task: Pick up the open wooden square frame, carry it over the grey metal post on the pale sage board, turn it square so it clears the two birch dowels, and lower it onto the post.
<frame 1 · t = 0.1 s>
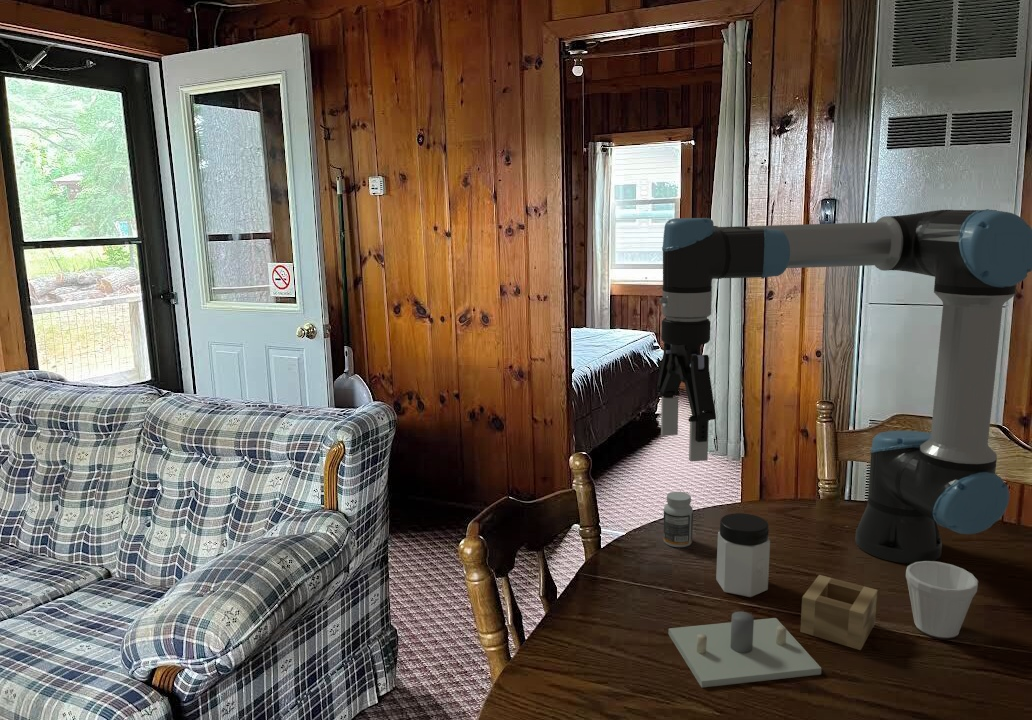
hand: (683, 447, 127), 28 cm above the table, fingers open, 13 cm apart
open wooden square frame: (837, 628, 124), on the table
pill bottle: (677, 543, 156), on the table
cup: (936, 630, 124), on the table
post fixture: (741, 653, 118), on the table
jar: (741, 586, 139), on the table
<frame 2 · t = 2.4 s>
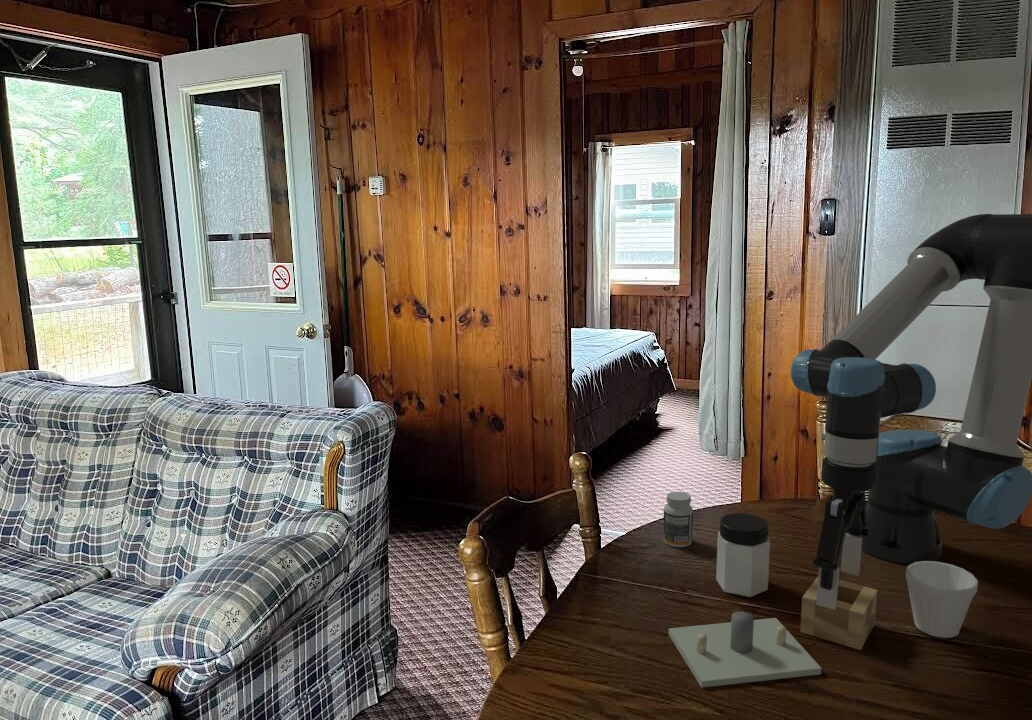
hand: (838, 589, 123), 7 cm above the table, fingers open, 13 cm apart
nothing on the table moved.
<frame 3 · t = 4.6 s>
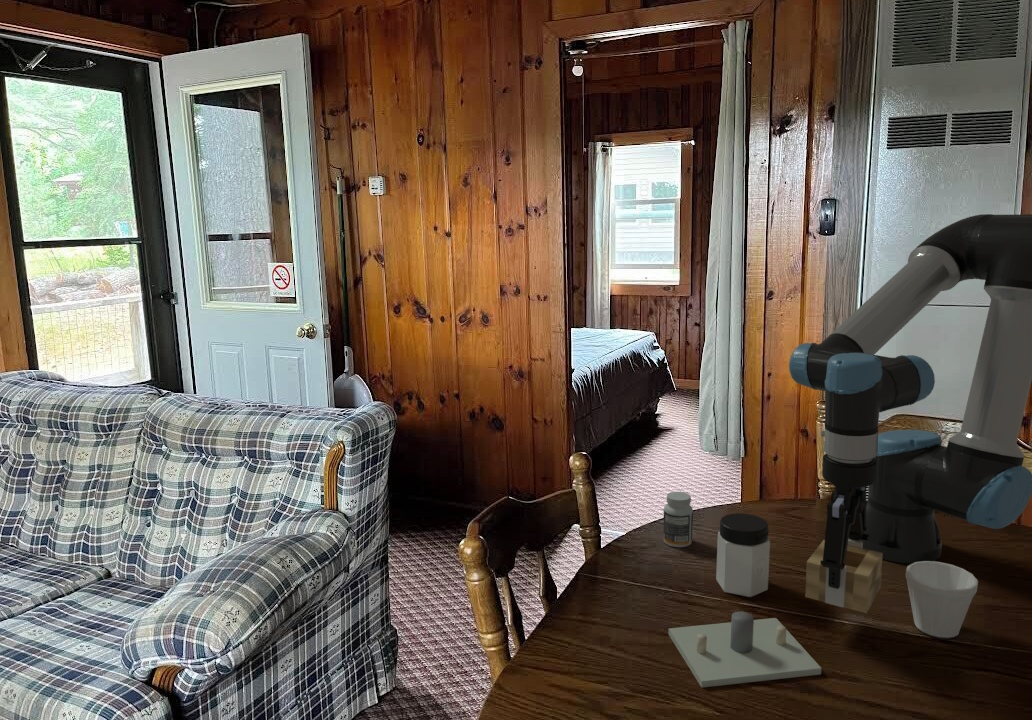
hand: (843, 590, 123), 6 cm above the table, fingers closed on open wooden square frame, 9 cm apart
open wooden square frame: (843, 592, 124), point 6 cm above the table, touching gripper
everything else where it was.
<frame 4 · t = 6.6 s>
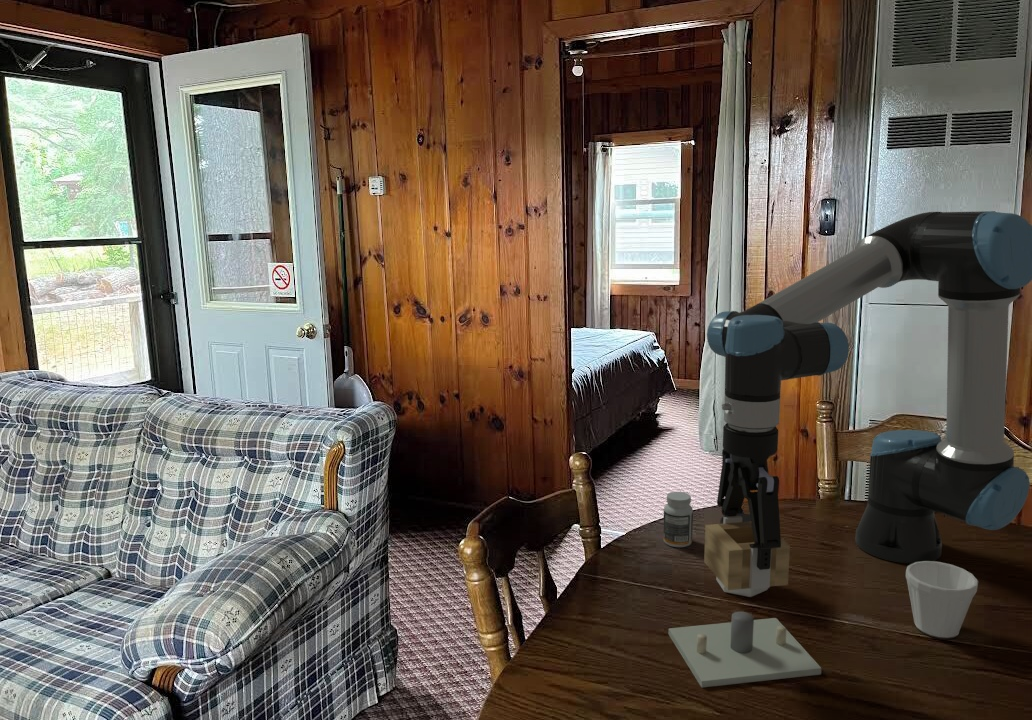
hand: (744, 571, 115), 13 cm above the table, fingers closed on open wooden square frame, 9 cm apart
open wooden square frame: (744, 572, 115), point 13 cm above the table, touching gripper
everything else where it was.
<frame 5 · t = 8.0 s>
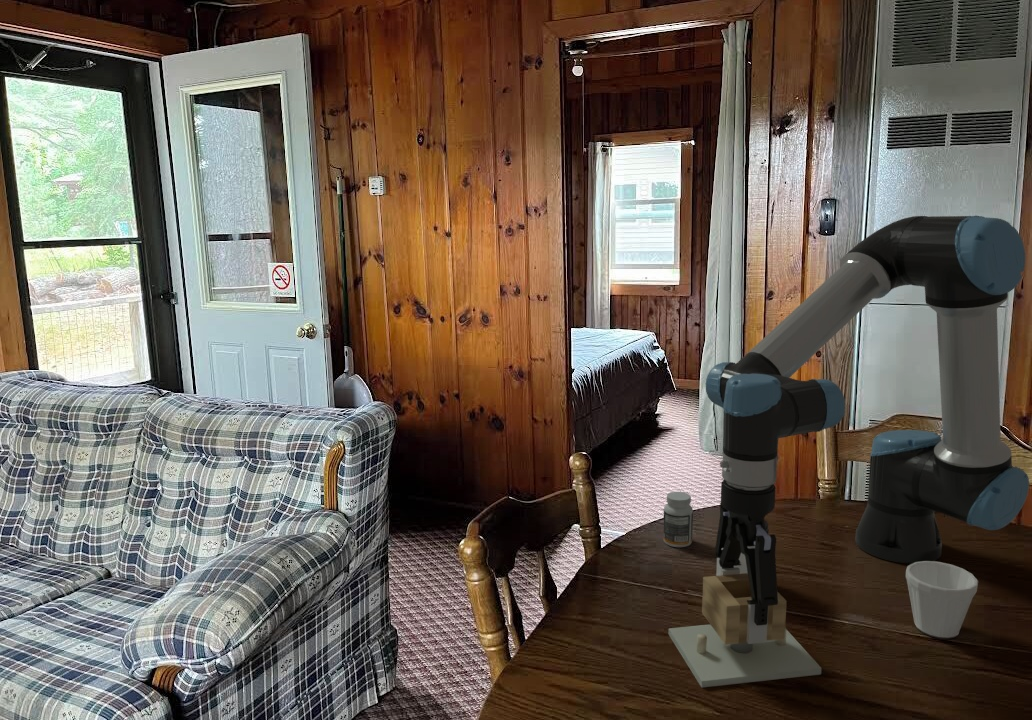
hand: (742, 623, 117), 5 cm above the table, fingers closed on open wooden square frame, 9 cm apart
open wooden square frame: (741, 625, 117), point 5 cm above the table, touching gripper
everything else where it was.
when the fingers open (2 cm above the table, at t = 9.0 s): open wooden square frame stays where it is, resting on post fixture.
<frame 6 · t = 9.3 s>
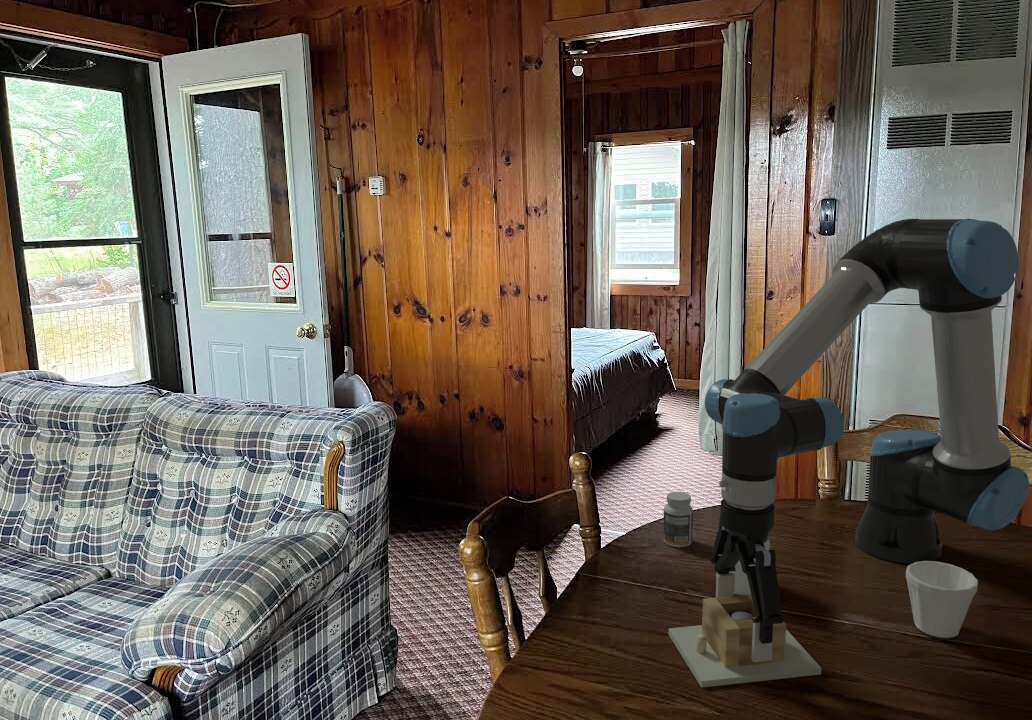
hand: (741, 635, 117), 3 cm above the table, fingers open, 12 cm apart
open wooden square frame: (741, 647, 118), point 1 cm above the table, touching post fixture
everything else where it was.
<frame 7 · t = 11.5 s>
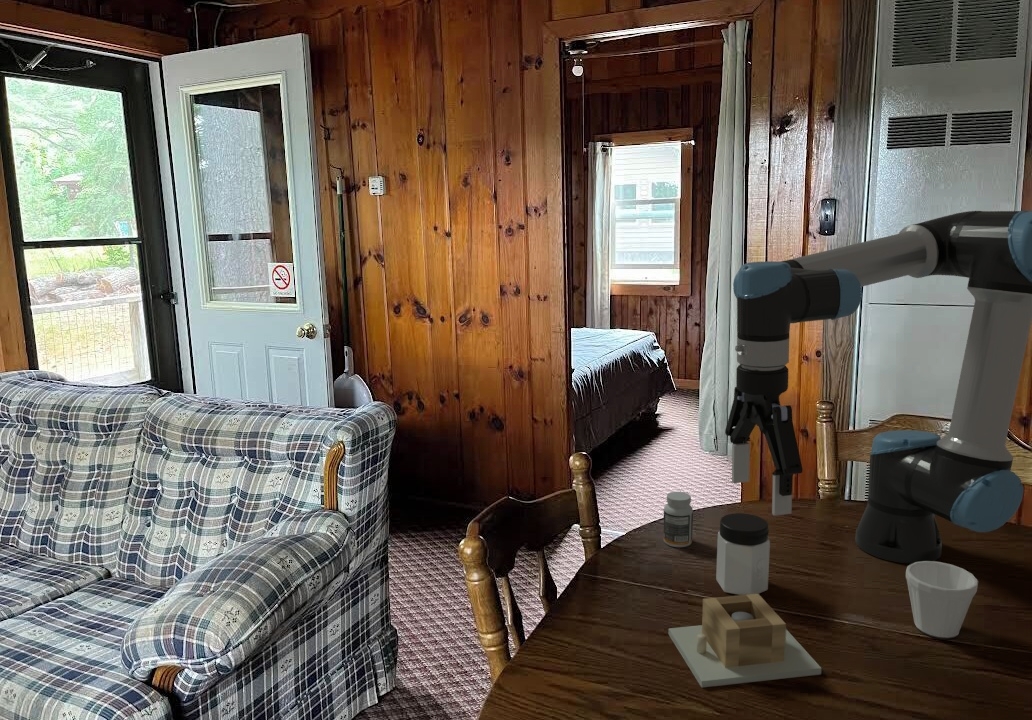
hand: (760, 497, 123), 21 cm above the table, fingers open, 13 cm apart
nothing on the table moved.
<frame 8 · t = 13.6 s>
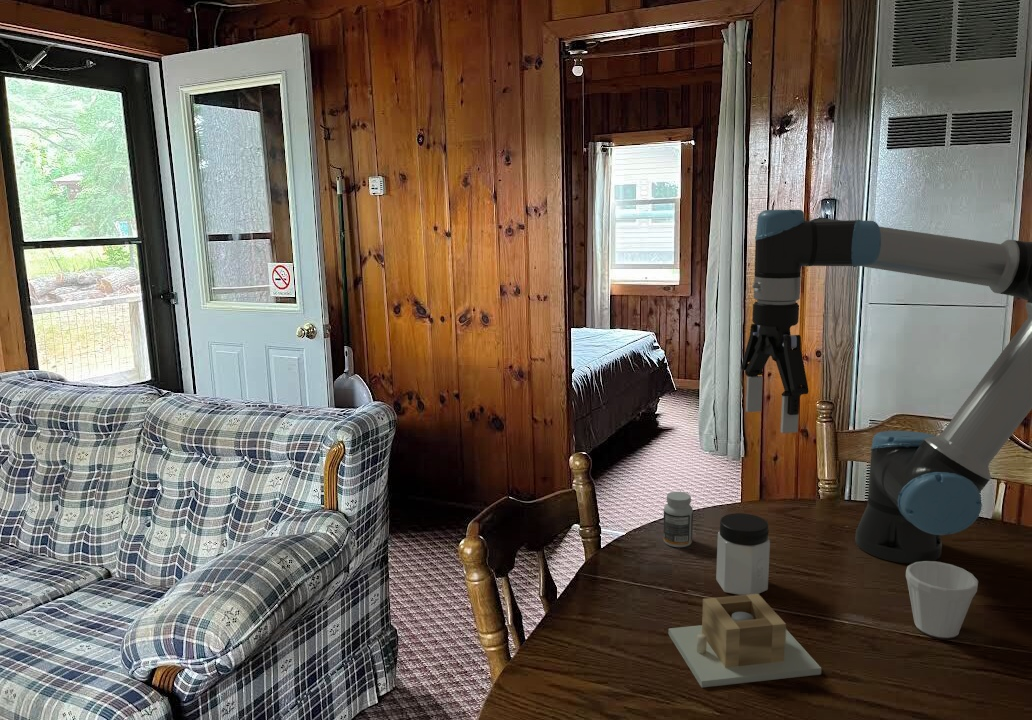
hand: (770, 421, 138), 29 cm above the table, fingers open, 13 cm apart
nothing on the table moved.
at the end: open wooden square frame 0.0 cm off-centre on the post fixture, point 1.0 cm above the post fixture's base; open wooden square frame tilted 0°; the gripper is holding nothing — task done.
